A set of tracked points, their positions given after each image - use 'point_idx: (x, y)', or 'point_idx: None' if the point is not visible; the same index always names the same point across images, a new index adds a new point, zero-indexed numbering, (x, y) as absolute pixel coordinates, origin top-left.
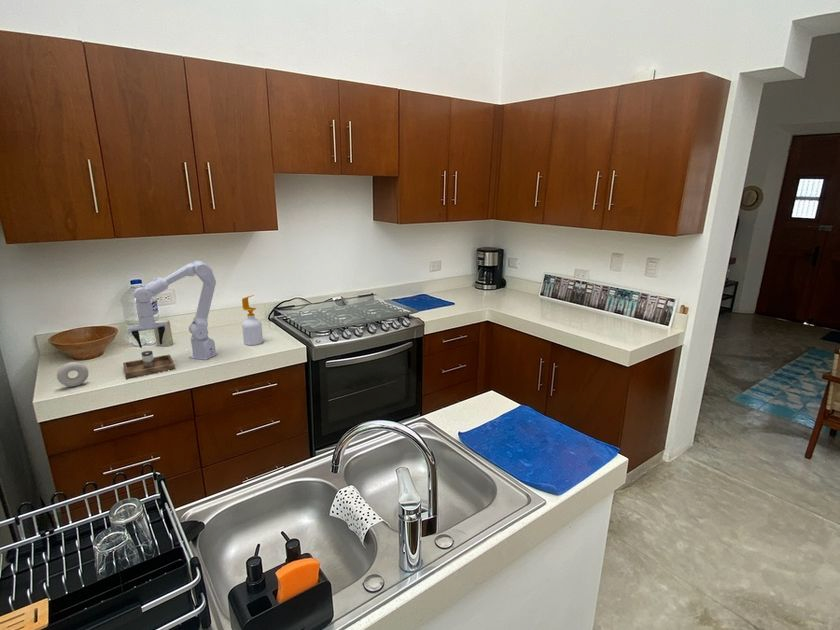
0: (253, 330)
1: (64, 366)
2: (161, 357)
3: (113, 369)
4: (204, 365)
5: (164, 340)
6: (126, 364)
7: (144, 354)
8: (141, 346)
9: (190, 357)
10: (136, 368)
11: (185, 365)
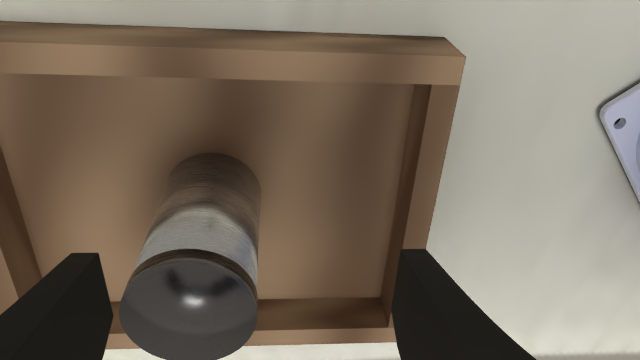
0: None
1: None
2: (360, 77)
3: None
4: (582, 327)
5: None
6: None
7: (160, 353)
8: (103, 340)
9: (608, 133)
10: (91, 151)
11: (485, 265)
